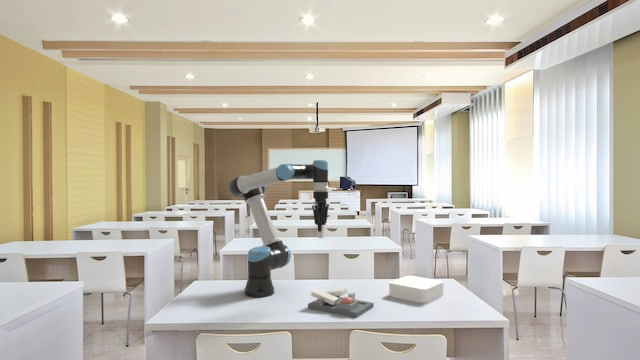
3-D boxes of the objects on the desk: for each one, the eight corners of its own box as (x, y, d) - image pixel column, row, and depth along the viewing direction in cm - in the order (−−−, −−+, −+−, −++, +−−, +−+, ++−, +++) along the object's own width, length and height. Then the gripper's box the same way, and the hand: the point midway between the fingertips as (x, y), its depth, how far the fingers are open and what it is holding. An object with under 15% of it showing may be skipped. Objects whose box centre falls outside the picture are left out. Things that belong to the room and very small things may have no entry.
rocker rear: (320, 297, 202) (320, 292, 202) (326, 294, 207) (325, 290, 207) (342, 295, 196) (341, 291, 196) (347, 292, 200) (346, 288, 201)
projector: (446, 294, 217) (446, 280, 217) (425, 304, 200) (425, 289, 200) (409, 287, 231) (409, 274, 231) (387, 296, 214) (387, 282, 214)
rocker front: (311, 295, 196) (311, 291, 195) (316, 293, 200) (317, 289, 200) (333, 305, 190) (333, 300, 189) (338, 302, 194) (339, 298, 194)
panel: (307, 308, 194) (307, 297, 194) (327, 298, 209) (327, 288, 209) (356, 317, 181) (356, 306, 181) (373, 307, 196) (373, 296, 195)
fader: (348, 300, 197) (348, 293, 197) (351, 299, 199) (351, 292, 199) (352, 301, 196) (352, 294, 196) (355, 299, 198) (355, 292, 198)
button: (340, 307, 188) (340, 298, 188) (345, 304, 192) (345, 296, 192) (349, 308, 185) (349, 300, 185) (354, 305, 189) (354, 297, 189)
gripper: (320, 191, 205) (320, 240, 206) (333, 190, 216) (333, 236, 217) (307, 191, 209) (307, 239, 210) (321, 190, 220) (321, 235, 221)
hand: (320, 237), depth 213 cm, fingers closed
